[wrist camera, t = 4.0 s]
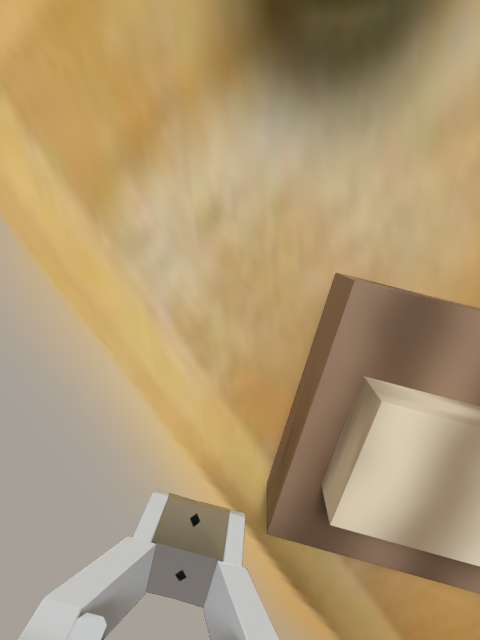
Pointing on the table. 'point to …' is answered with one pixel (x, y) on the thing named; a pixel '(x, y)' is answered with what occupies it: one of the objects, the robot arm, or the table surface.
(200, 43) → the table surface
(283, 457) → the walnut board
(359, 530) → the cream block
